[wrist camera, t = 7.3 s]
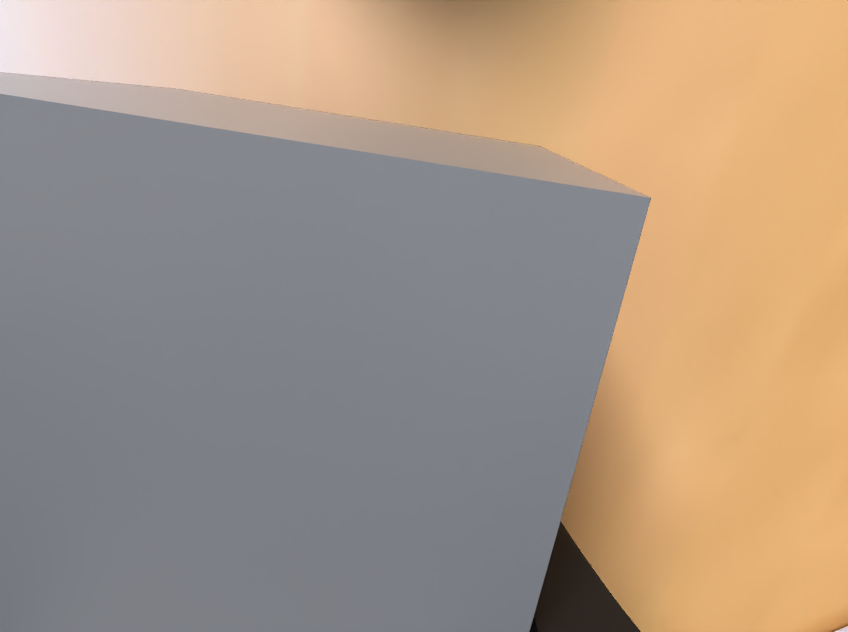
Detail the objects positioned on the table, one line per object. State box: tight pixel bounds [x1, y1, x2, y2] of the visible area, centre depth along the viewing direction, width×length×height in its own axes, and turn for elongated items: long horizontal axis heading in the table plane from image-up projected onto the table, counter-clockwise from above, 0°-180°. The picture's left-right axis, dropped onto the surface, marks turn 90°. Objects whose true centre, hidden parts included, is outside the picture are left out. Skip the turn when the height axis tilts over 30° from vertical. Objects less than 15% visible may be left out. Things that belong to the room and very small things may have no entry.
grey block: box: [0, 72, 651, 632], centre depth 8 cm, size 11×6×6 cm, turn 171°
